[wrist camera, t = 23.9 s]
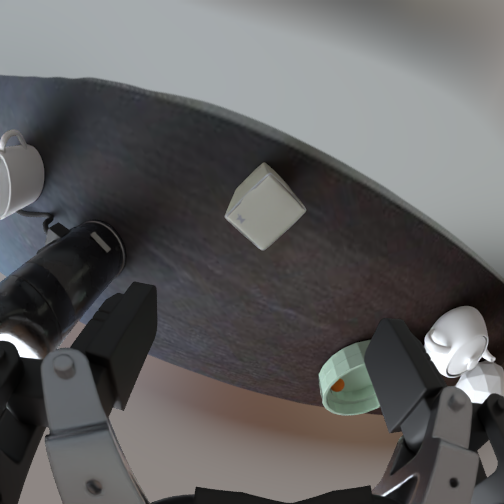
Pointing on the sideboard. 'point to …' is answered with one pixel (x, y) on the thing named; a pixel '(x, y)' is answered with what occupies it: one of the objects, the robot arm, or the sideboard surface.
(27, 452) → the robot arm
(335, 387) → the ball
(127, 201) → the sideboard surface
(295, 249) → the sideboard surface
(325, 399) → the bowl
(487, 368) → the geometric shape
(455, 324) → the teapot
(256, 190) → the box
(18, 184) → the mug
